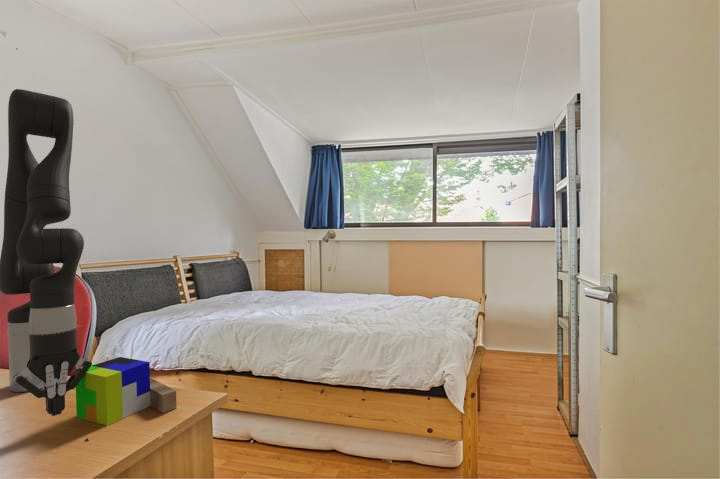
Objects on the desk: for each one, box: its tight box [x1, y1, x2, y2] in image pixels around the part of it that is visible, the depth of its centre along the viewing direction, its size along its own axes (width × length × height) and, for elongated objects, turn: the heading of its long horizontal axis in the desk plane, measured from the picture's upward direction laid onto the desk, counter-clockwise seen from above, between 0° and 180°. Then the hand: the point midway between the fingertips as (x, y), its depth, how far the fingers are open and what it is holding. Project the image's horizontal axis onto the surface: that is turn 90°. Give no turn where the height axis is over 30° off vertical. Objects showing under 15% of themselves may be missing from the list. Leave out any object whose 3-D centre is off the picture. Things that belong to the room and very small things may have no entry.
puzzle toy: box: [75, 356, 152, 426], centre depth 88 cm, size 10×10×10 cm
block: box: [150, 377, 178, 414], centre depth 95 cm, size 20×3×4 cm, turn 51°
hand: (55, 413), depth 80 cm, fingers closed
